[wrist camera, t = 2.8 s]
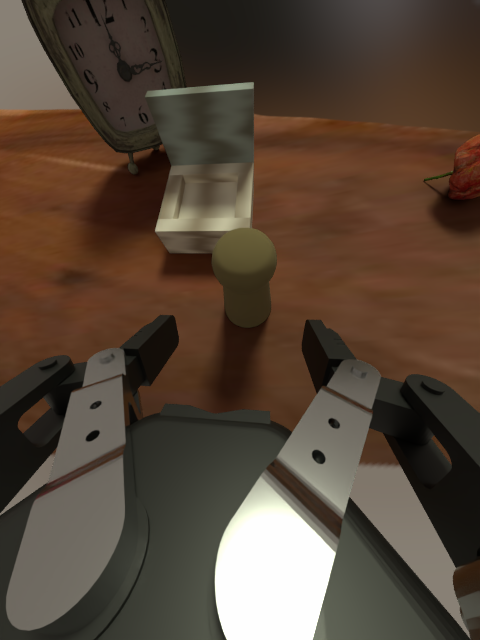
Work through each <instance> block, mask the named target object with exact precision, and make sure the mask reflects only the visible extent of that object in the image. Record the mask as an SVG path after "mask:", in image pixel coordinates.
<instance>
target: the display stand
mask: <svg viewBox="0 0 480 640" xmlns="http://www.w3.org/2000/svg"><path fill="white" fill-rule="evenodd" d="M145 99H146V101H147V104H148V107H149V109H150V112H151V114H152V117H153V119H154V122H155V125H156V127H157V130H158V132H159V135H160V137H161V140H162V143H163V145H164V148H165V150H166V153H167V155H168V158H169V161H170V163H171V170H170V174H169V178H168V182H167V186H166V190H165V194H164V198H163V201H162V205H161V209H160V213H159V217H158V221H157V225H156V229H155V232H156V234H157V235H158V237H159V238H160V240H161V241H162V243H163V244H164V246H165V247H166V249H167V250H168V251H169V253H213V249H214V247H215V245H216V243H217V242H218V240H219V239H220V238H221V237H222V236H223V235H224V234H226V233H227V232H229V231H231V230H234V229H237V228H252V212H253V193H254V82H252V83H240V84H227V85H216V86H203V87H191V88H178V89H166V90H154V91H147V93H146V96H145Z"/></svg>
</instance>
